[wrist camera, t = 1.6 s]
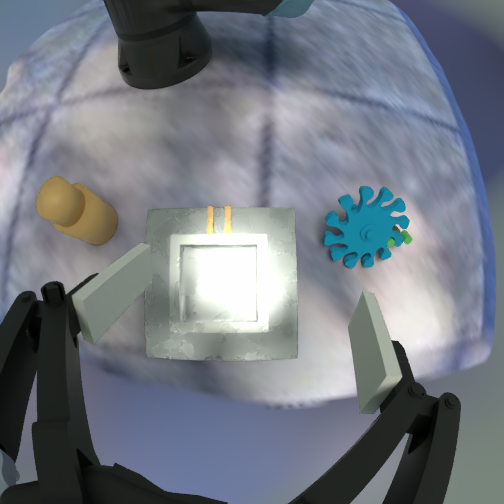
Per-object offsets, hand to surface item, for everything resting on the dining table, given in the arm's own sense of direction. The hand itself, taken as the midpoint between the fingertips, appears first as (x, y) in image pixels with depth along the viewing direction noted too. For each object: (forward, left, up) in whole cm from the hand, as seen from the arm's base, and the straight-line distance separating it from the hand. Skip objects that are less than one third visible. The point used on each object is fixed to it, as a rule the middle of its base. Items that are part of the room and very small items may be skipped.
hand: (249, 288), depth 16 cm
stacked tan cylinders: (-8, -18, -13) cm, 23 cm away
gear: (-6, +13, -14) cm, 20 cm away
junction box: (-1, -3, -13) cm, 14 cm away
